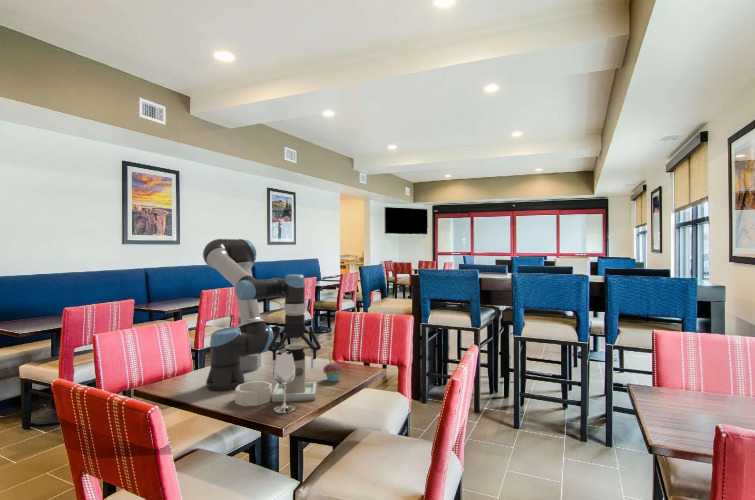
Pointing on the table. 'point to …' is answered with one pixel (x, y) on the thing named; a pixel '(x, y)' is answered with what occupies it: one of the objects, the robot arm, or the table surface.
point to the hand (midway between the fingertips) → (294, 368)
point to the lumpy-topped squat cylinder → (250, 362)
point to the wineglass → (284, 376)
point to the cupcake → (333, 370)
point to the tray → (307, 395)
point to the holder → (253, 393)
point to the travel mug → (297, 369)
